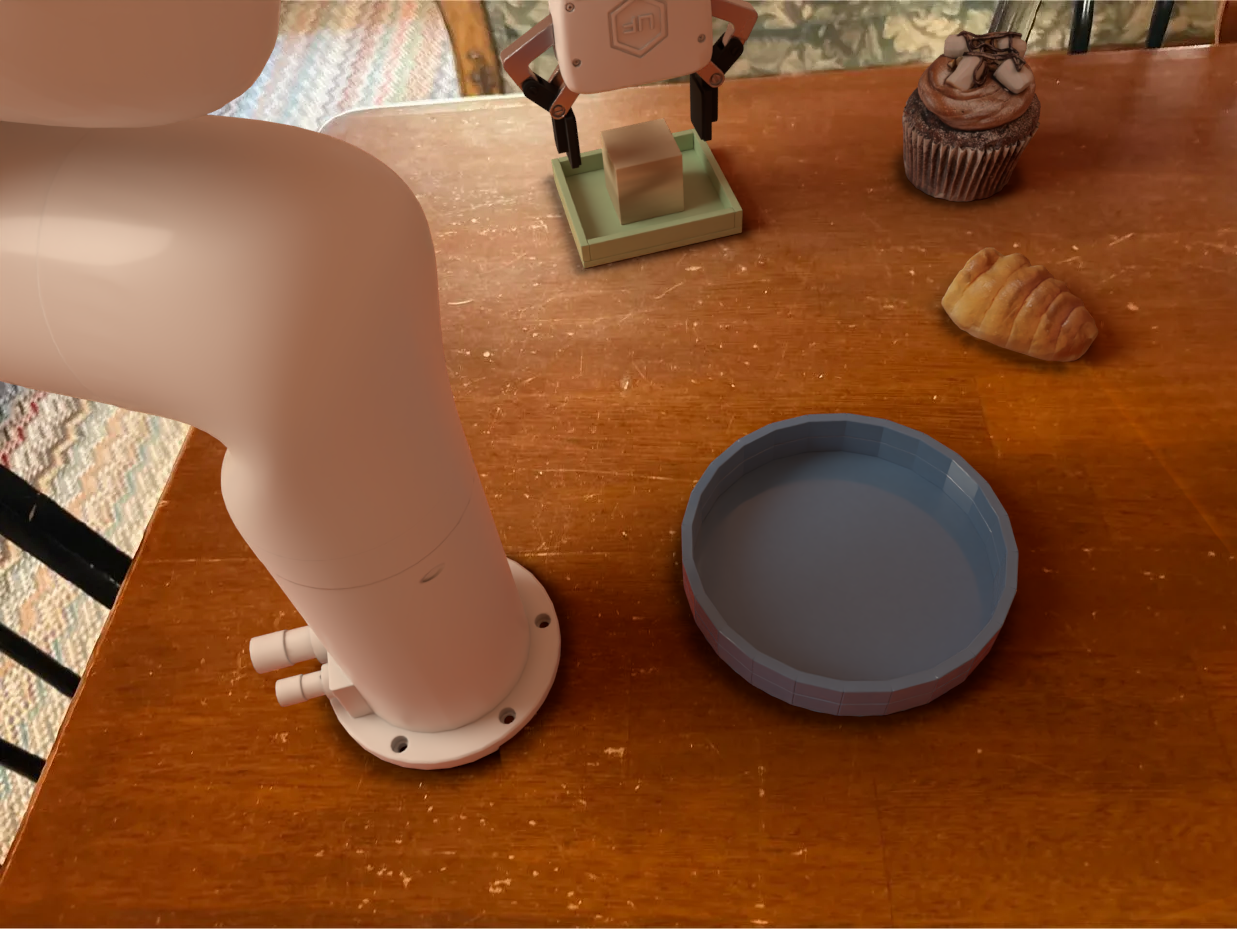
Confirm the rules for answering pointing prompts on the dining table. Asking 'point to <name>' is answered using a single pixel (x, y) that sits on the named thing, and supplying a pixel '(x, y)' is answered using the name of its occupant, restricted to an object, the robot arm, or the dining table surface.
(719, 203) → the tray
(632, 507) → the dining table surface
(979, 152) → the cupcake
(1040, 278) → the pastry
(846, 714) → the bowl
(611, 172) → the block
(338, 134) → the dining table surface
